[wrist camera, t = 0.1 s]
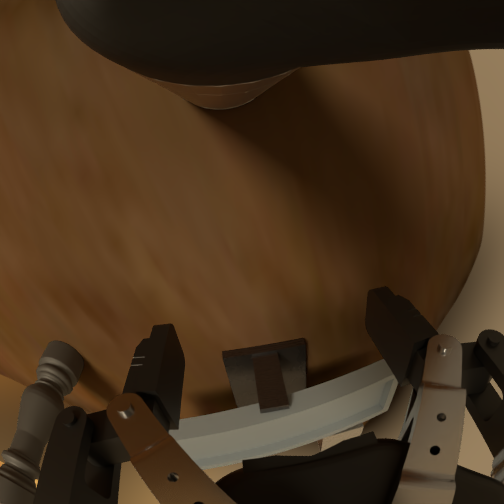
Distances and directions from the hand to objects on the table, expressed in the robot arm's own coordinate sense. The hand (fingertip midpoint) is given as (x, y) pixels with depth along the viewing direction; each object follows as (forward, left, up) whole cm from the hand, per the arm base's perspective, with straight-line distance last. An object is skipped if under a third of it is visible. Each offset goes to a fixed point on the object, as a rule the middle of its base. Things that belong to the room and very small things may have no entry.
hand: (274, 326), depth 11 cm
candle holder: (+17, -28, -17) cm, 37 cm away
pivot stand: (+24, 0, -17) cm, 29 cm away
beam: (+24, 0, -10) cm, 26 cm away
